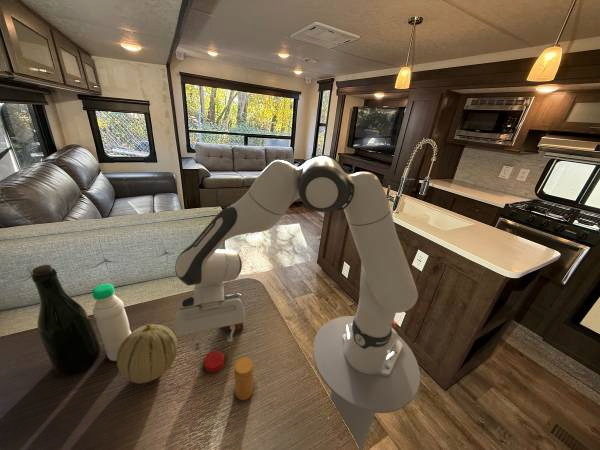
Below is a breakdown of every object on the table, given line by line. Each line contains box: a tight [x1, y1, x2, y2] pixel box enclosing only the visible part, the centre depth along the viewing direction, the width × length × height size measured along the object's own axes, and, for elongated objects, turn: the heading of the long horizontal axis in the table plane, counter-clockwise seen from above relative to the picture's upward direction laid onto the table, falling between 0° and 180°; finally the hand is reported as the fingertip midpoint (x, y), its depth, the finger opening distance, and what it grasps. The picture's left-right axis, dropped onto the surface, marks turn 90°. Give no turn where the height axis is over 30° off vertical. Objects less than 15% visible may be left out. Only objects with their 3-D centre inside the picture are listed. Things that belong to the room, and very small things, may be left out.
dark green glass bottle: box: [31, 264, 102, 377], centre depth 67 cm, size 10×10×33 cm
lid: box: [203, 350, 226, 373], centre depth 76 cm, size 6×6×2 cm
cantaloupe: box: [116, 323, 179, 384], centre depth 70 cm, size 15×15×15 cm
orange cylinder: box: [233, 356, 254, 401], centre depth 67 cm, size 5×5×11 cm
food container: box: [222, 292, 244, 333], centre depth 88 cm, size 12×6×10 cm, turn 42°
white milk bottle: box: [91, 283, 132, 362], centre depth 72 cm, size 7×7×25 cm
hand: (213, 346), depth 72 cm, fingers open, 8 cm apart
